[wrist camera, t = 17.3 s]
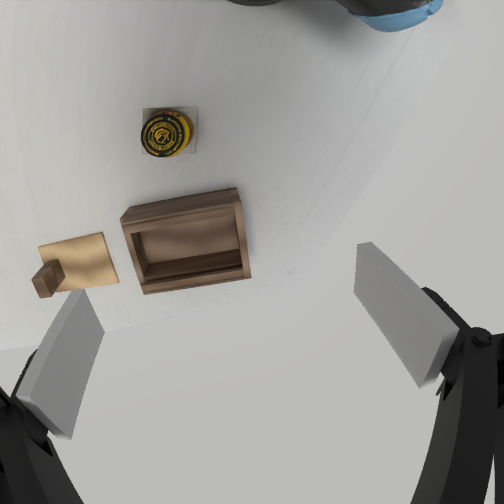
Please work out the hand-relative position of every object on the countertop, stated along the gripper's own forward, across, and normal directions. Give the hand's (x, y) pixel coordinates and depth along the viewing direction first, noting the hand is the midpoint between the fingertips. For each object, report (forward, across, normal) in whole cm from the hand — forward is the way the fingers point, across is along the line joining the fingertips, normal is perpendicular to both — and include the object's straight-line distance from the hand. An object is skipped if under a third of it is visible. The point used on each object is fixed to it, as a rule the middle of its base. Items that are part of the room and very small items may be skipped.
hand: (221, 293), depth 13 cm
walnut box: (+35, -6, -10) cm, 37 cm away
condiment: (+35, -6, +7) cm, 36 cm away
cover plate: (+35, -29, -12) cm, 47 cm away
